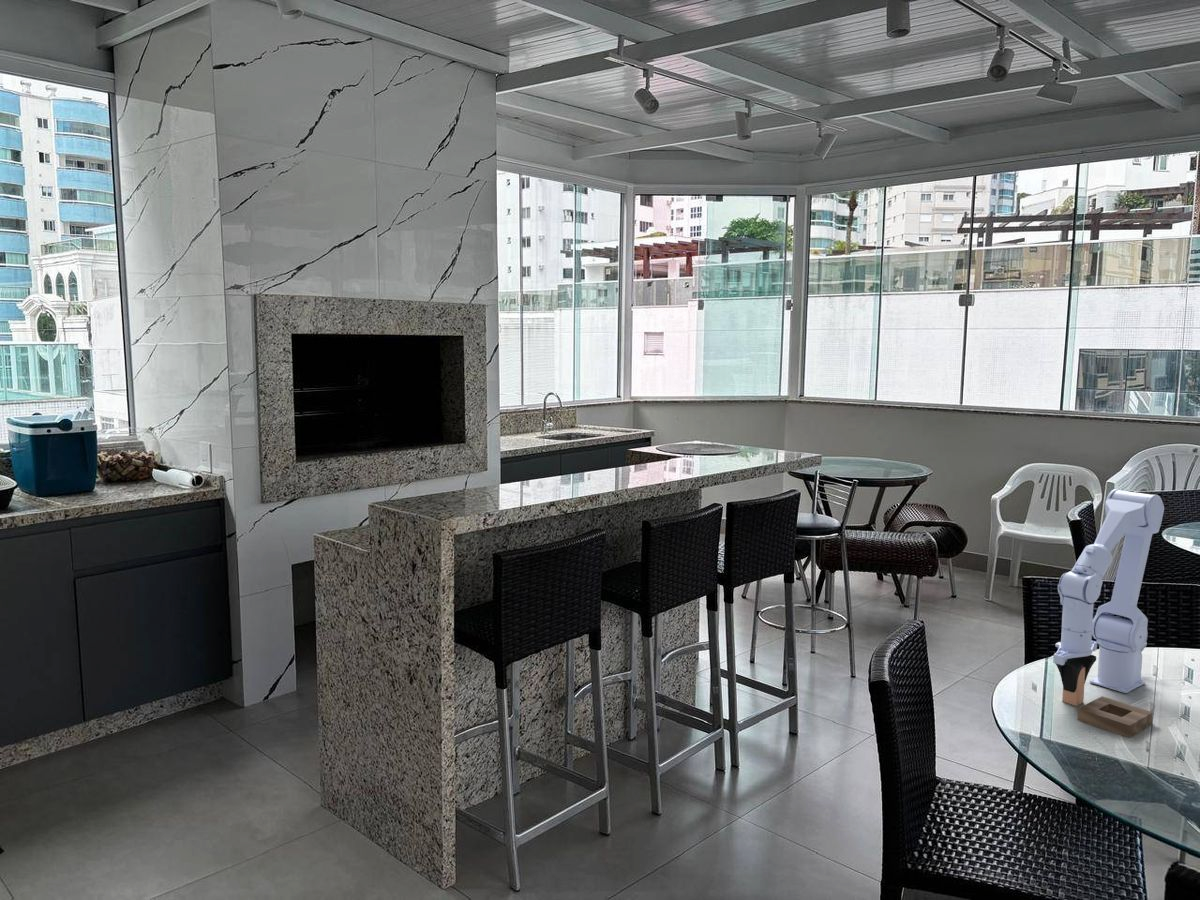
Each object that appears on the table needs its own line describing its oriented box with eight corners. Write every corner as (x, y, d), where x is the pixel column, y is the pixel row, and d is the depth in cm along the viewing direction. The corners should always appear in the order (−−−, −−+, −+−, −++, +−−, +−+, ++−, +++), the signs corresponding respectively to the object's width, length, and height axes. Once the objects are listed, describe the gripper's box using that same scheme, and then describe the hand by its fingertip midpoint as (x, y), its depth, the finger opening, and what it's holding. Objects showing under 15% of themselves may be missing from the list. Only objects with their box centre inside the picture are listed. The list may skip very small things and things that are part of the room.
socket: (1101, 707, 187) (1102, 696, 186) (1152, 723, 178) (1153, 712, 178) (1077, 719, 181) (1078, 708, 181) (1129, 737, 173) (1129, 725, 172)
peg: (1069, 698, 192) (1071, 663, 191) (1083, 702, 189) (1085, 667, 188) (1062, 701, 190) (1064, 666, 189) (1076, 706, 187) (1078, 670, 186)
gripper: (1075, 616, 195) (1071, 675, 196) (1040, 630, 186) (1037, 691, 188) (1108, 624, 189) (1104, 684, 191) (1074, 639, 181) (1070, 701, 183)
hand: (1073, 688), depth 189 cm, fingers closed on peg, 3 cm apart
